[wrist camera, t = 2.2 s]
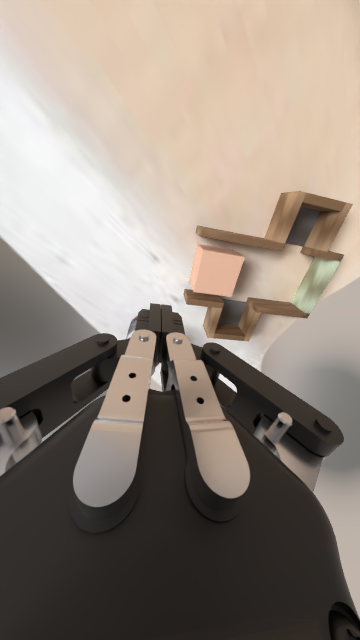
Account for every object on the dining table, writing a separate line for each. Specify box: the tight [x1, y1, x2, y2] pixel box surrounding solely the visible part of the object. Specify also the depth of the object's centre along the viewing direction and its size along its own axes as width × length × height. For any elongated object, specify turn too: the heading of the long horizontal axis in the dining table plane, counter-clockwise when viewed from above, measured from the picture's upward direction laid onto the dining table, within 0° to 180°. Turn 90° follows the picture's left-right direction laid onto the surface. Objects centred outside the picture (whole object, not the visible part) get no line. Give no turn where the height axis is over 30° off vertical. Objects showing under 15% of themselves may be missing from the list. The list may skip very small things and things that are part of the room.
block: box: [189, 244, 245, 297], centre depth 29 cm, size 6×6×5 cm
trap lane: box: [184, 191, 353, 341], centre depth 30 cm, size 23×22×4 cm
